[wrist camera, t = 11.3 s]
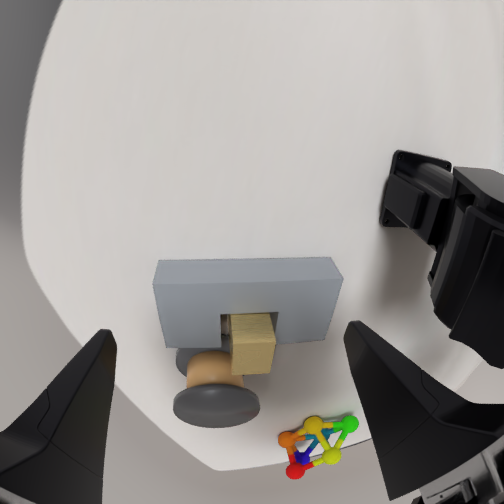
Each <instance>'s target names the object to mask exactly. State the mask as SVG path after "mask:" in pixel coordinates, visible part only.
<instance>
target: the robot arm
mask: <svg viewBox="0 0 504 504" xmlns="http://www.w3.org/2000/svg"><path fill="white" fill-rule="evenodd" d="M400 155H401V158H400V159H399V156H400ZM446 166H447V167H446ZM451 167H452V165H451V163H450V162H449V161H446V160H443V159H439V158H435V157H431V156H426V155H422V154H418V153H413V152H408V151H404V150H397V151H396V152H395V154H394V158H393V163H392V168H391V173H390V176H389V180H388V185H387V190H386V194H385V198H384V203H383V204H384V205H383V209H382V213H381V217H380V223H381V224H382V225H383V226H385V227H409V228H410V229H412V230H413V231H414V232H415V233H416V234H417V235H418V236H419V237H420V238H421V239H422V240H423V241H425V242H426V243H427V244H428V245H430V246H431V247H432V248H433V249H434V250H435V251H436V252H437V253H436V256H435V260H434V263H433V266H432V269H431V271H430V272H429V275H428V281H429V284H430V286H431V298H432V301H433V304H434V307H435V308H434V313H435V314H436V316H437V317H438V318H439V320H440V321H441V322H442V323H443V324H444V325H445V326H447V327H448V328H449V329H451V332H450V334H449V338H450V339H453V340H456V341H459V342H462V343H464V344H465V345H467V346H469V347H470V348H472V349H473V350H475V351H476V352H477V353H478V354H479V355H480V356H481V357H482V358H483V359H484V360H485V361H486V362H487V363H488V364H489V365H491V366H494V367H497V368H500V369H503V368H504V175H503V174H500V173H498V172H496V171H494V170H491V169H480V168H468V167H453V174H452V173H450V172H451ZM386 219H387V221H385V220H386ZM344 344H345V348H346V352H347V357H348V361H349V366H350V370H351V374H352V377H353V380H354V383H355V386H356V389H357V392H358V395H359V398H360V401H361V404H362V407H363V410H364V414H365V417H366V420H367V423H368V426H369V430H370V433H371V436H372V439H373V443H374V446H375V449H376V453H377V456H378V459H379V464H380V467H381V471H382V474H383V478H384V482H385V486H386V489H387V493H388V497H389V500H390V501H391V500H394V499H396V498H398V497H401V496H403V495H406V494H407V493H410V492H412V491H414V490H416V489H418V488H419V489H420V492H421V496H419V497H417V498H415V499H413V501H412V503H411V504H504V404H477V403H472V402H470V401H467V400H466V399H464V398H462V397H461V396H459V395H458V394H456V393H455V392H453V391H452V390H450V389H449V388H447V387H445V386H444V385H443V384H441V383H440V382H438V381H437V380H435V379H434V378H433V377H431V376H430V375H429V374H428V373H426V372H425V371H424V370H421V368H420V367H419V366H417V365H416V364H415V363H414V362H412V361H411V360H410V359H408V358H407V357H406V356H405V355H403V354H402V353H401V352H400V351H398V350H397V349H396V348H394V347H393V346H392V345H391V344H389V343H388V342H387V341H386V340H384V339H383V338H382V337H380V336H379V335H378V334H377V333H375V332H374V331H373V330H371V329H370V328H369V327H368V326H366V325H365V324H364V323H362V322H361V321H359V320H357V321H351V322H349V324H348V326H347V329H346V332H345V334H344ZM116 355H117V344H116V342H115V339H114V337H113V334H112V332H111V330H109V329H100V330H99V331H98V332H97V333H96V334H95V335H94V336H93V337H92V338H91V339H90V340H89V341H88V342H87V343H86V344H85V346H84V347H83V348H82V349H81V350H80V351H79V352H78V353H77V354H76V355H75V356H74V358H73V359H72V360H71V361H70V362H69V363H68V364H67V365H66V366H65V367H64V368H63V370H62V371H61V372H60V373H59V374H58V375H57V376H56V377H55V378H54V380H53V381H52V382H51V383H50V384H49V385H48V386H47V389H45V390H44V391H43V392H42V393H41V395H39V397H38V398H37V399H36V400H35V401H34V402H33V403H32V404H31V405H30V406H29V407H28V408H27V409H26V410H25V411H24V412H23V413H22V414H21V415H20V416H19V417H18V418H17V419H16V420H15V421H14V422H13V423H12V424H11V425H10V426H9V427H7V428H6V429H5V430H4V431H2V432H0V504H102V487H103V479H102V478H103V470H104V458H105V448H106V438H107V429H108V422H109V415H110V408H111V402H112V396H113V390H114V382H115V368H116Z"/></svg>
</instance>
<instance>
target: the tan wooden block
mask: <svg viewBox="0 0 504 504" xmlns="http://www.w3.org/2000/svg"><path fill="white" fill-rule="evenodd" d="M227 323H228V335H229V347H230V358H231V369H232V375H248V374H264V373H270V369H271V364H272V360H273V355H274V350H275V345H276V339H275V334H274V330H273V326H272V322H271V318H270V314H269V312H265V313H242V314H228V320H227Z"/></svg>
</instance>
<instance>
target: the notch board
mask: <svg viewBox="0 0 504 504" xmlns="http://www.w3.org/2000/svg"><path fill="white" fill-rule="evenodd" d="M343 279H344V278H343V277H342V275H341V273H340V272H339V270H338V268H337V267H336V265H335V263H334V262H333V260H332V259H331V257H312V258H266V259H211V260H159V261H158V265H157V268H156V272H155V276H154V280H153V289H154V294H155V299H156V304H157V309H158V314H159V319H160V323H161V328H162V332H163V336H164V341H165V345H166V348H215V347H221V325H220V314H242V313H265V312H269V314H270V318H271V322H272V326H273V330H274V334H275V339H276V344H288V343H299V342H309V341H318V340H324V339H325V336H326V333H327V330H328V327H329V324H330V321H331V318H332V315H333V312H334V309H335V306H336V302H337V299H338V296H339V292H340V289H341V286H342V282H343Z"/></svg>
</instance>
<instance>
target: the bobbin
mask: <svg viewBox="0 0 504 504" xmlns="http://www.w3.org/2000/svg"><path fill="white" fill-rule="evenodd" d="M176 365H177V368H178V369H179V371H180V372H181V373H182V374H183V375H184V376H186V377H187V389H185V390H183V391H181V392H180V393H178V394H177V395H176V397H175V398H174V403H173V411H174V414H175V415H176V416H177V417H178V418H179V419H180V420H182V421H184V422H186V423H189V424H191V425H195V426H199V427H206V428H225V427H232V426H236V425H240V424H243V423H246V422H248V421H250V420H252V419H253V418H254V417H256V416H257V415H258V413H259V411H260V405H259V399H258V397H257V395H256V394H255V393H253V392H252V391H250V390H248V389H246V388H244V383H243V376H244V375H232V369H231V358H230V347H229V335H224V334H221V347H215V348H178V350H177V353H176Z"/></svg>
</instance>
